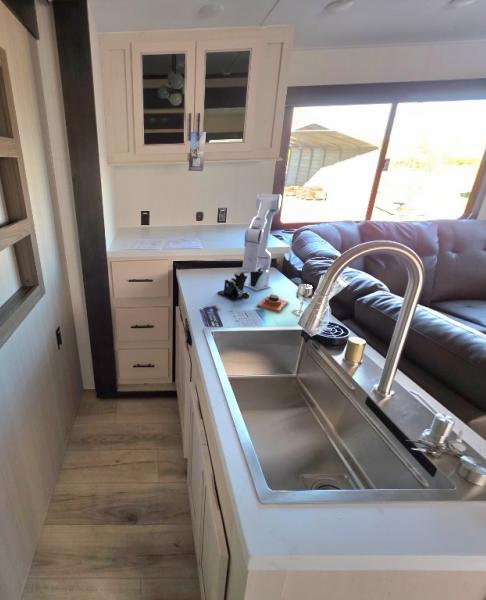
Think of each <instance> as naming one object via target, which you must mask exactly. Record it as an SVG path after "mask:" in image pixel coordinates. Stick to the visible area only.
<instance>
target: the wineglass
mask: <svg viewBox="0 0 486 600" xmlns="http://www.w3.org/2000/svg"><path fill="white" fill-rule="evenodd" d="M312 296H313V286H312V285H310V284H305V283H301V284H299V285H298V287H297V289H296V291H295V298H296V299H297V300H298V301H300V306H299V310H295V311H293V313H294V315H297V316H300V315H301V313H302V312H303V311H302V309H303V308H302V307H303V305H304V302H308V301H310V300H311V299H312Z"/></svg>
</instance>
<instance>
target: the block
mask: <svg viewBox="0 0 486 600" xmlns="http://www.w3.org/2000/svg"><path fill="white" fill-rule="evenodd" d="M269 297H270V295H268V296H267V295H266V297H265V298H263V299H262V300H261V301H260V302H259V303H258V304H257V308H260V309H263V310H267V311H271V312H275V313H280V312H281V311H282V310H283V309H284V308H285V307H286V306H287V305H288V303H289V300H285V299H282V298H280V297H279V298H278V301H271V300H269Z"/></svg>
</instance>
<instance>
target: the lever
mask: <svg viewBox="0 0 486 600" xmlns="http://www.w3.org/2000/svg"><path fill="white" fill-rule="evenodd" d="M229 281H231V282H234V283H233V288H235V289H236V290H237V291H238V293H239V294H242V297H243V298H242V299H244V300H248V299H250V294H249V292H246V291H245V292H244V290H239V289H238V287H237V286H236V284H237V283H236V282H235V281H233V280H231V279H230V280H229Z"/></svg>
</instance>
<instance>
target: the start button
mask: <svg viewBox="0 0 486 600" xmlns="http://www.w3.org/2000/svg"><path fill="white" fill-rule="evenodd" d="M269 296H270V297H269V300H271V301H278V298H280V297H279V295H277V294H270V295H269Z"/></svg>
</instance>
